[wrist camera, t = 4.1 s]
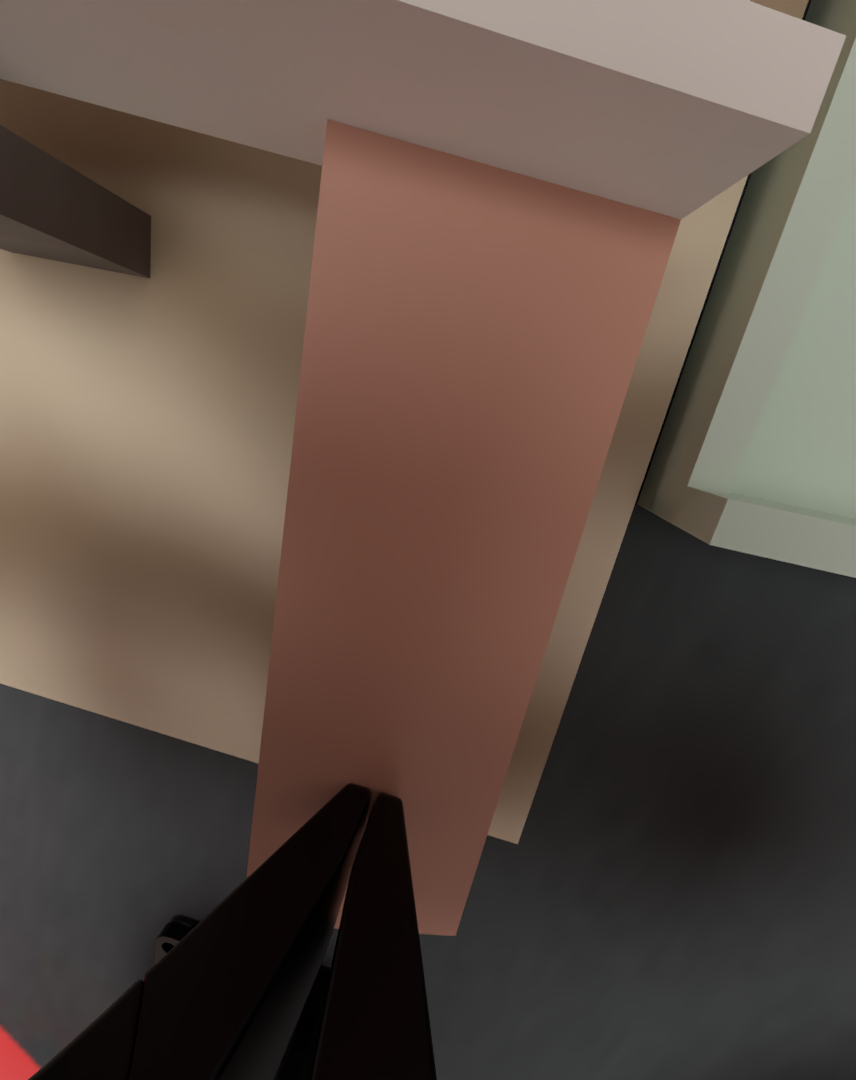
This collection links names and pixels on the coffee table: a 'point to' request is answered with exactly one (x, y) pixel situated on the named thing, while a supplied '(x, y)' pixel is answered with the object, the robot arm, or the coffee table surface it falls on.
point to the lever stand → (211, 421)
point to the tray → (777, 356)
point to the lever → (445, 332)
